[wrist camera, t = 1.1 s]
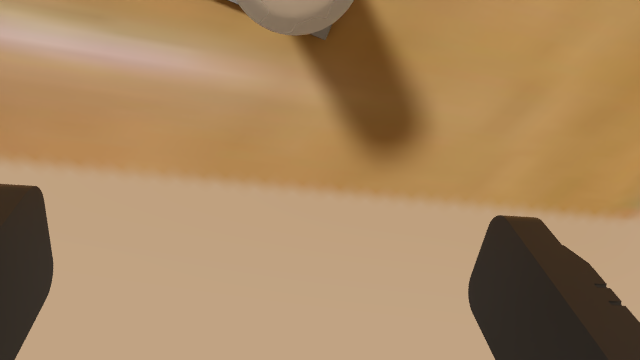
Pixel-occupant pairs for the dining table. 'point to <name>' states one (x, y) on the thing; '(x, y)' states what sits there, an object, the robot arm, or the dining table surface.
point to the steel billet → (295, 14)
